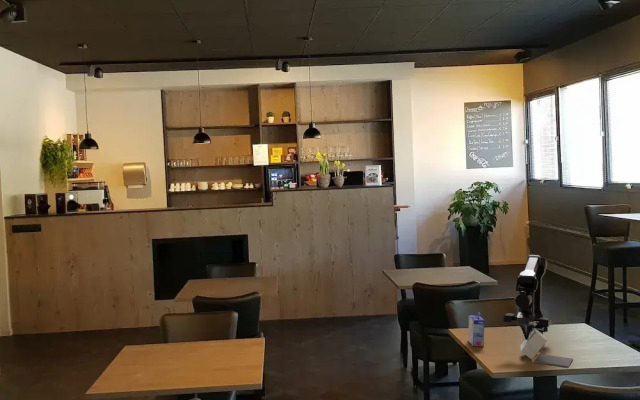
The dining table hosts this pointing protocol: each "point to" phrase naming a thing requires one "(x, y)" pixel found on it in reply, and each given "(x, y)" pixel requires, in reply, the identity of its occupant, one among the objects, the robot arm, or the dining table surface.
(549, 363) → the mat
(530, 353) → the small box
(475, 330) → the ink cartridge box
